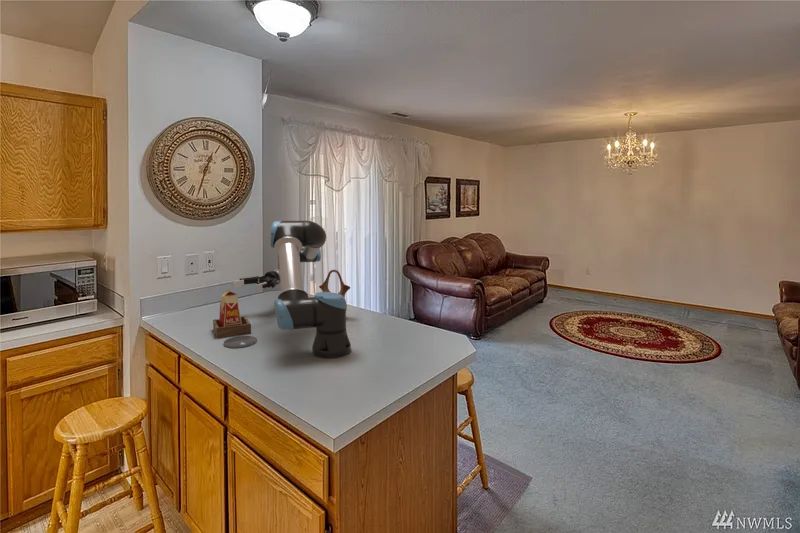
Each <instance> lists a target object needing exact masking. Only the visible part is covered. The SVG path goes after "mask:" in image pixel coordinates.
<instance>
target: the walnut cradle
mask: <svg viewBox="0 0 800 533" xmlns="http://www.w3.org/2000/svg"><path fill="white" fill-rule="evenodd" d="M240 317H241V322H242V324H241V325H234V326H227V327H219V319H212V328H213V331H214V334H215V337H216V339H223V338H232V337H237V335H239V336H246V335H250V334H252V324H251V322H250V321H249V319H248V318H247V316H246V315H242V316H241V315H240Z"/></svg>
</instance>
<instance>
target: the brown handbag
mask: <svg viewBox="0 0 800 533" xmlns="http://www.w3.org/2000/svg"><path fill="white" fill-rule="evenodd" d="M332 273H336V274H337V276H338V279H339V284H340V290H339V292H338V293H337V294H340V295H342V296H343V297H344V298H345V297H346V293H347V292H348V291H349V290H350V289H351V286H349V285H348V284H345V283H344V281H343V279H342V276H341V273H340V271H338V269H337V270H336V269H332V270H331V269H330V271H329V272H328V274H327V276H326V278H325V280H324V282H323V283H322V284H320V285H319V286H318V288H320V290H321V292H331V291H330V289H329V280H330V277H331V274H332ZM345 299H346V298H345ZM345 302H346V311H347V309H348V305H347V301H346V300H345Z"/></svg>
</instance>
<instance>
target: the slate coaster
mask: <svg viewBox="0 0 800 533" xmlns="http://www.w3.org/2000/svg"><path fill="white" fill-rule="evenodd" d="M257 343H258V338H257V337H255V336H252V335H239V336H232V337H228V338H227V339H226V340H224V341H223V346H224V347H225V348H227V349H243V348H248V346H249V347H252V346H254V345H255V344H257ZM251 345H252V346H251Z"/></svg>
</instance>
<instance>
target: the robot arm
mask: <svg viewBox="0 0 800 533" xmlns="http://www.w3.org/2000/svg"><path fill="white" fill-rule="evenodd" d="M270 229H271V230H270V247H271V248H272V249H273V248H274V251H275V252H276V253H277V263H278V265H277V266H278V267H277V268H278V269H274V270H270V271H268V272H266V273H265V274H264V275H262V276H258V275H257V276H251V277H244V278H239V280H236V281H233V282H232V287H233V289H236V288H239V287H244V286H245V285H252V284H253V285H254V284H255V290H256V292H257V291H262V290H264V289H268V288H271V289H273V288H275V287H277V286H279V285H280V291H281V292H280V293H279V294H278V297H277V299H275V300H274V302H273V307H274V313H275V319H276V322H277V323H276V324H277V327H278V328H279V329H280V330H282V331H287V330H290V331H293V330H301V329H311V328H312V329H313V328H315V330H316V331H315V337H314V340H313V343H312V347H311V349H312V354H313V355H314V356H316V357H319V358H324V359H325V358H326V359H327V358H328V359H329V358H331V359H332V358H339V357H344V356H346V355H348V354H349V353H350V352H351V351H352V345H351V344H352V343H351V341H350V339H349V335H348V334H347V333H348V332H347V315H346V314H347V310H346V304H347V301H346V298H344V297H343V296H342V295H340V294H338V293H337V292H332V291H330V292H323V291H321V292H319V291H318V292H316V293H315V295H314V296H313V297H309V295H308V293H307V291H305V290H304V284H303V274H302V268H301V263H316V262H317V263H318V262H320V261H321V258H322V253H321V247H323V246H324V245H325V243H326V241H327V233H326V231H325V229H324V228H323V227H322V226H321V225H320V224H319V223H316V222H315V221H311V220H275V221H273V222H272V223H271V228H270ZM345 301H346V302H345Z"/></svg>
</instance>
